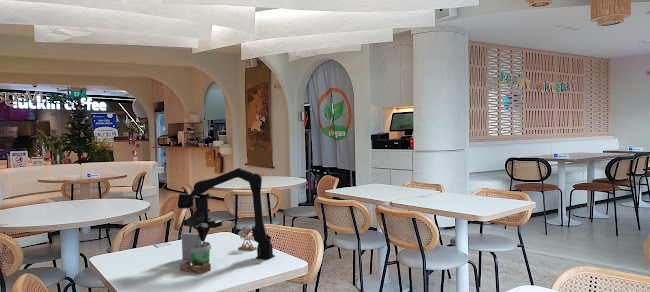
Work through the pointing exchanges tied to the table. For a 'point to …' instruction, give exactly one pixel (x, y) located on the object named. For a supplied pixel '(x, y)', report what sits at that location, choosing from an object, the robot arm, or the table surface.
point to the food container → (201, 254)
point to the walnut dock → (194, 268)
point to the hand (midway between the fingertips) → (203, 241)
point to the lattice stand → (247, 248)
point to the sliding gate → (189, 244)
